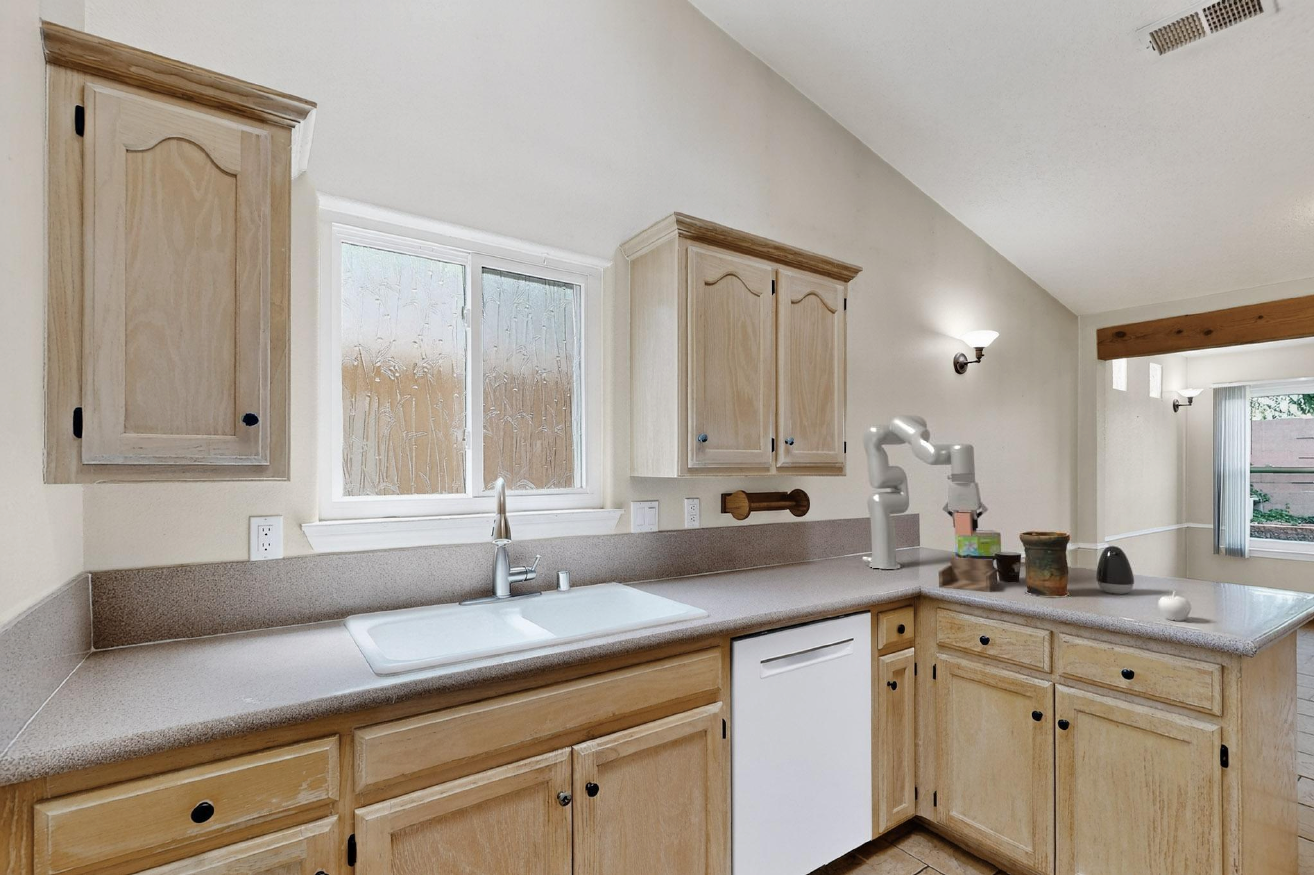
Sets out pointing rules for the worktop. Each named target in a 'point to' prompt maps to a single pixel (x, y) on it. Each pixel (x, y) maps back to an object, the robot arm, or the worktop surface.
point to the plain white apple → (1174, 607)
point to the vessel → (1046, 563)
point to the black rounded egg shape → (1114, 571)
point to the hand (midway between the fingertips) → (965, 529)
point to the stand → (969, 575)
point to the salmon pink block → (964, 523)
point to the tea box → (979, 545)
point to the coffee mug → (1008, 566)
